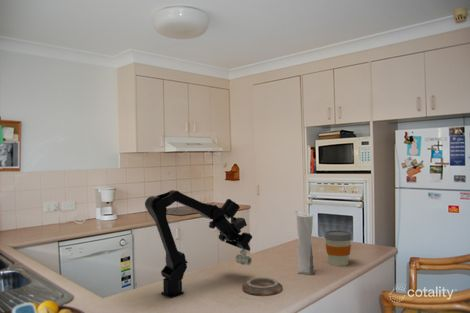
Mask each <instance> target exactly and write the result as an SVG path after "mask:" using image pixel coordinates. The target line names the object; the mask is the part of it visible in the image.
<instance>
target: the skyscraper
mask: <svg viewBox="0 0 470 313" xmlns="http://www.w3.org/2000/svg"><path fill="white" fill-rule="evenodd" d="M298 213H300V214H299V215H298ZM295 215H296V229H297V230H296V231H297V237H298V244H297V264H298V272H297V274H298V275H305V276H307V275H308V276H314V275H315V274H316V271H317V269H314V267H315V265H314V255H313V254H314V253H313V244H312V243H313V241H312V234H313V218H314V215H313V214H311V213H308V212H307V213H303V212H301V211H300V210H295Z"/></svg>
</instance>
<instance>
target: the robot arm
mask: <svg viewBox="0 0 470 313" xmlns="http://www.w3.org/2000/svg"><path fill="white" fill-rule="evenodd" d="M175 202H176V203H178V204H180V205H183V206H184V207H187V208H190V209H191V210H194V211H195V212H197V213H198V214H199V215H200V216H202V217H203V218H205V219H209V220H212V221H209V224H208V228H210V229H213V230H214V229H215V228H216V229H217V230H218V231H219V234H218V240H220V241H221V242H223V243H226V244H228V245H231V246H233V247H236V248H238V249H241V248H243V249H245V251H248V252H249V251H251V247H250V244H249V243H250V242H251V240H252V239H253V235H251V233H249V232H242V229H243V228H244V227H247V226H248V224H247V221H246V219H245V218H243V217H235V215H236V214H237V213H238V211H239V210H240V209H241V207H240V205H239V204H238V203H236V202H235V201H234V200H232V199H231V198H227V199H226V200H225V202H224V203H223V205H222V206H221V207H219V206H217V205H213V204H208V203H204V202H201V201H199V200H197V199H195V198H193V197H190V196H188V195H187V194H184V193H181V192H180V191H179V190H174V189H173V190H172V189H171V190H169V191H167V192H163V193H162V194H158V195H156V196H154V195H152V196H149V197H147V199H146V200H145V202H144V207H145V208H146V210H147V212H148V214H149V215H150V216H151V218H152V220H154V223H155V225H156V228H157V231H158V234H159V237H160V240H161V242H162V245H163V249H164V251H165V263H166V264H165V265H164V267H163V269H162V270H161V271H160V273H161V274H160V275H161V276H162V277H163V279H162V280H163V281H162V282H163V283H162V284H163V287H162V288H163V291H161V293H160V294H161V295H163V296H164V297H168V298H173V297H177V296H180V295H183V294H184V293H185V292H184V291H183V278H184V276H185V273H186V270H187V268H188V265H187V264H189V262H188V261H187V259H186V255H185V253H183V252H182V251H179V250H178V248H177V246H176V241H175V239H174V236H173V234H172V230H171V227H170V225H169V221H168V219H167V213H168V208H167V207H169V206H171V205H172V204H174V203H175ZM229 219H230V221H229ZM241 232H242V233H241Z"/></svg>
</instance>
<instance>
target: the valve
mask: <svg viewBox="0 0 470 313" xmlns="http://www.w3.org/2000/svg"><path fill="white" fill-rule="evenodd" d="M240 249H241V250H240V251H239V253H240V254H237V255H236V256H235V263H237V264H240V265H242V266H243V265H246V266H250V265H251V264H252V261H253V259H252V257H251V256H247V254H248V252H247V250H245V249H243V248H240Z"/></svg>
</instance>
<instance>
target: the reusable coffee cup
mask: <svg viewBox="0 0 470 313" xmlns="http://www.w3.org/2000/svg"><path fill="white" fill-rule="evenodd" d="M324 239H325V249H326V254H327V258H328V264H329V265H331V266H335V267H336V266H337V267H344V266H348V265H349V260H350V259H349V258H350V255H351V247H352V244H351V240H352V234H351V231H347V230H346V231H345V230H339V229H338V230H327V231H325V232H324Z"/></svg>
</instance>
